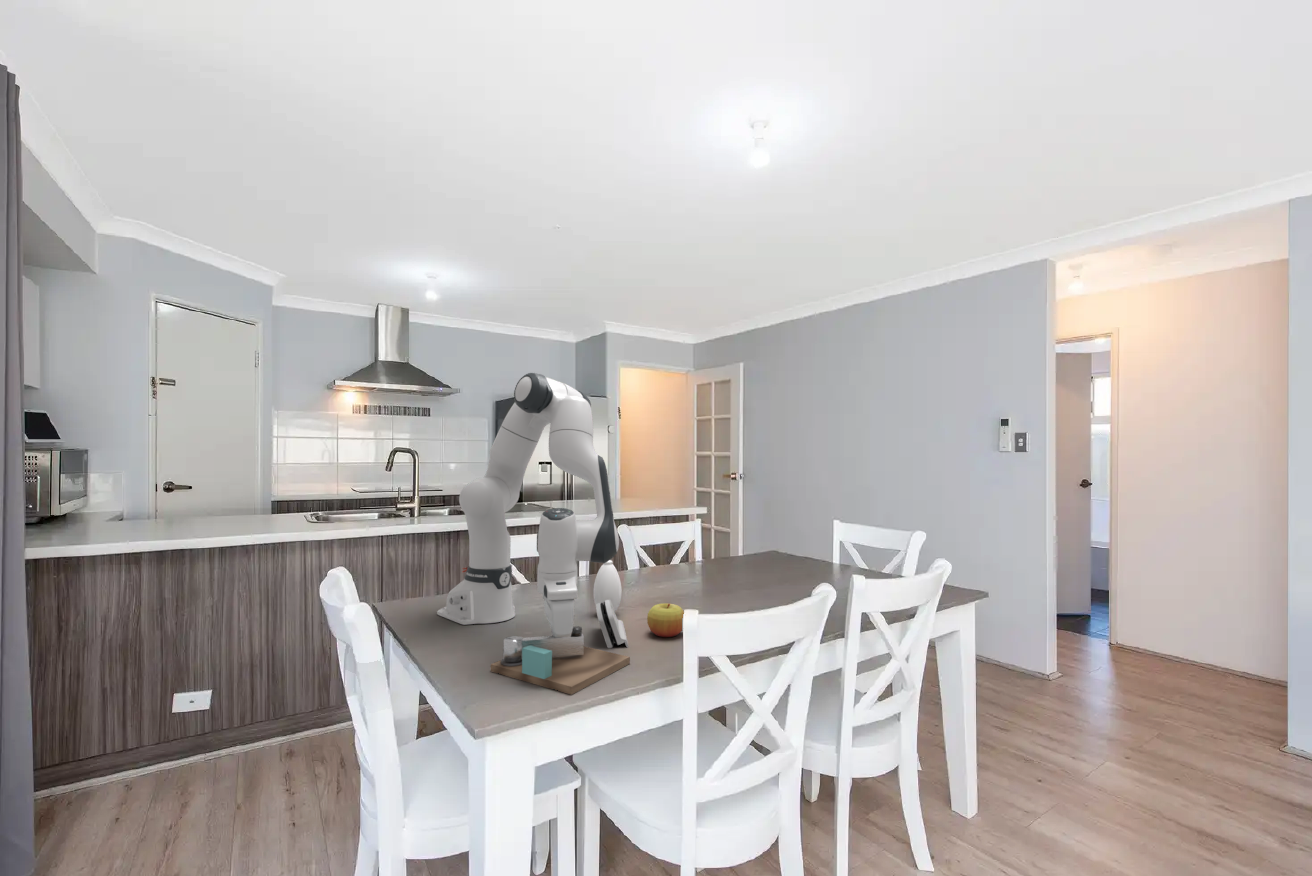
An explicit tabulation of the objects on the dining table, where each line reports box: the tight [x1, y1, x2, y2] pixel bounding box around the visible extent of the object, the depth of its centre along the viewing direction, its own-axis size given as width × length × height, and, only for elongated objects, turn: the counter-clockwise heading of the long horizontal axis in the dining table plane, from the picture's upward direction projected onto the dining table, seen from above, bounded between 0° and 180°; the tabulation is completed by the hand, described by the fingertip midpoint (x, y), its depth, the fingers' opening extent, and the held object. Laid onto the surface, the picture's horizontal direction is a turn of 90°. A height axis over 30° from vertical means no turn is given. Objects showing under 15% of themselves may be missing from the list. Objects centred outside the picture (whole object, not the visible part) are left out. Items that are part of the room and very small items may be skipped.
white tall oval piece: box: [592, 559, 622, 612], centre depth 172 cm, size 8×8×18 cm
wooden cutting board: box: [490, 646, 631, 696], centre depth 131 cm, size 22×20×2 cm
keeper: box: [522, 646, 552, 679], centre depth 123 cm, size 6×2×5 cm, turn 58°
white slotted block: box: [595, 600, 630, 649], centre depth 152 cm, size 17×5×10 cm, turn 7°
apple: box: [646, 602, 685, 638], centre depth 155 cm, size 10×10×8 cm
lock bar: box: [502, 625, 585, 662], centre depth 131 cm, size 17×4×6 cm, turn 106°
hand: (556, 644), depth 134 cm, fingers closed
